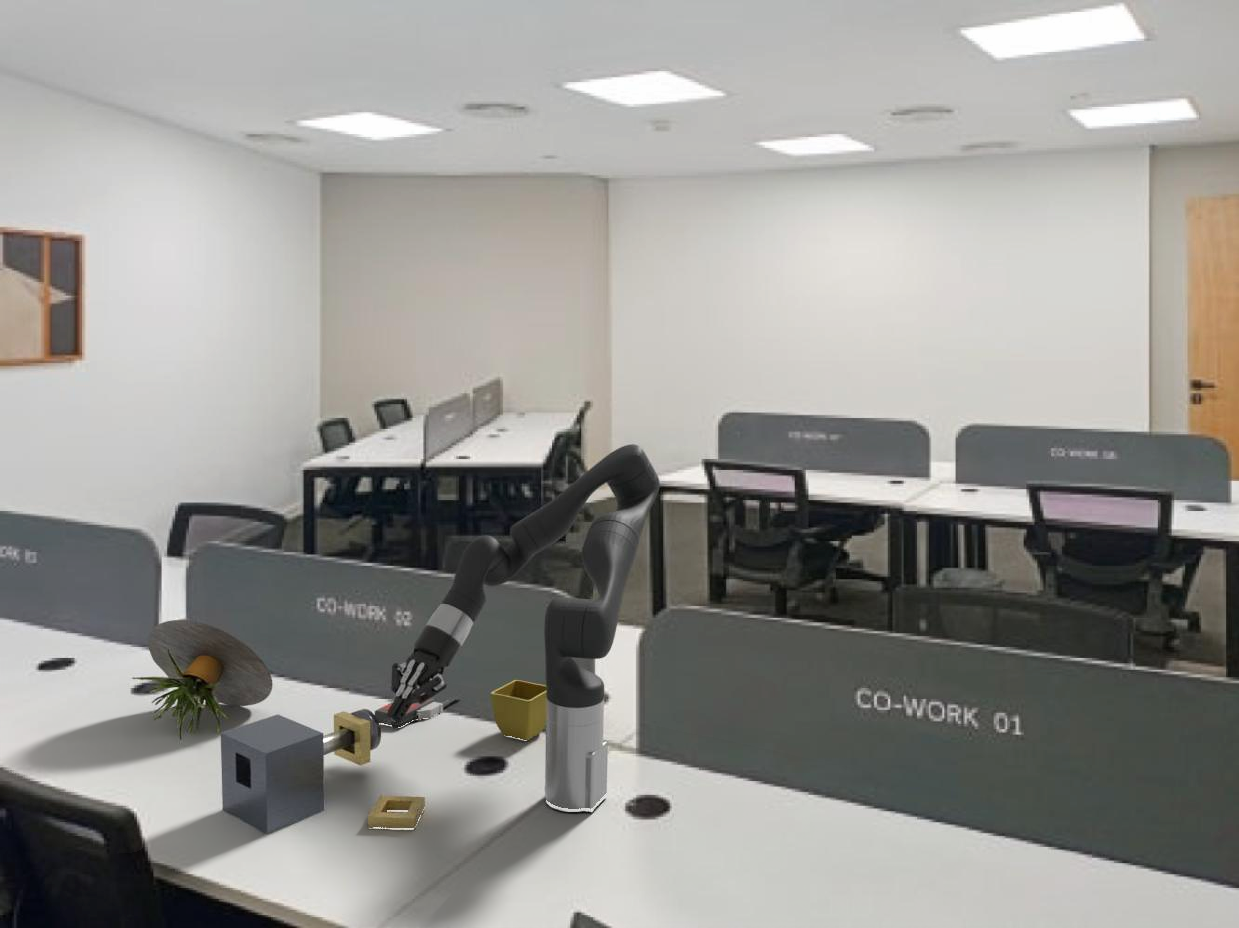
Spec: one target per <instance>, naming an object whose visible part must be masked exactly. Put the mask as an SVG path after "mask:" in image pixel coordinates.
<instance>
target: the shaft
mask: <svg viewBox="0 0 1239 928" xmlns="http://www.w3.org/2000/svg"><path fill="white" fill-rule="evenodd" d="M350 714H352V715H355V716H357V717H360V718H363V719H365V720H368V721H370V752H371V751H373V750H375V749H377V748H378V747H379V745H380V743H381V739H382V731H381V730H382V729H381V725H379V722H378V720H377V718H376V716H375V713H373V712H372V711H371V710H369V709H367V708H361V709H359V710H356V711H354V712H351V713H350ZM350 745H352V746H354V747H355V731H352V730H350V729H347V728H343V729H341V730H338V731H335V732H334V731H332V732H330V733H327V734H323V749H324V756H326V755H329V754H332V753H334V751H337V750H339V749H342V748H345V747H347V746H350Z"/></svg>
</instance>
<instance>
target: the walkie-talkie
mask: <svg viewBox="0 0 1239 928" xmlns="http://www.w3.org/2000/svg"><path fill="white" fill-rule="evenodd" d="M420 696H422V695H420ZM393 702H394V700H393V701H391V702H389V703H388V704H385V705H384V706H381V707H380V708H377V709H376V710H374V715H375V716H376V718H377V720H378V722H379V723H384V724H388V725H392V727H393V728H392V727H391V728H392V729H396V728H398V727H401V726H403V725H405V724H406V723H409V722H411V721H412V720H415V719H418V720H420V719H423V718H431V717H433V716H434V715H436V714H438V713H441V714H442V713H443V712H444V711H443V710H444V708H445V707H447V706H449V705H451V704H450V701H449V700H448V699H446V700H444V701H442V702H436V701H435V699H434V698H433V697H431V698H430V699H428V700H427V701H425V702H424V703H422V704H419V703H414V704H413V705H411V706H410V708H409V709H408V711H407V713H406V714H405V716H404V718H403V719H402V720H401V721H400V722H399V723H397V722H394V721H392V720H390V719H389V718H388V717H387V713H388V710H389V708H390V707H391V705H392V703H393ZM438 715H439V714H438ZM436 716H437V715H436ZM433 718H434V717H433ZM431 719H432V718H431ZM418 720H417V721H418ZM420 721H421V720H420ZM398 729H399V728H398Z"/></svg>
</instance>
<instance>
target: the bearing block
mask: <svg viewBox="0 0 1239 928" xmlns="http://www.w3.org/2000/svg"><path fill="white" fill-rule="evenodd" d="M323 736H324V732H321V731H319V730H316V729H314V728H312V727H309V726H306V725H305V724H302V723H299V722H298V721H295V720H292V719H290V718H288V717H285V716H282V715H280V714H275V715H271V716H268V717H266V718H265V717H264V718H263V719H260V720H256V721H253V722H250V723H246V724H244V725H240V726H237V727H234V728H231V729H228V730H225V731H222V732H220V755H221V757H220V759H221V761H220V763H221V765H220V766H221V797H222V810H223V811H224V812H225V813H228V814H229V815H231V816H233V817H235V818H236V819H239V820H240V821H242V822H244V823H246V824H247V825H249V826H252V827H253V828H256V829H257V830H258V831H261V832H263V833H265V835H269V834H271V833H274V832H277V831H279V830H281V829H283V828H286V827H288V826H290V825H293V824H295V823H298V822H299V821H302V820H305V819H306V818H308V817H312V816H314V815H316V814H318V813H321V812H324V811H325V763H324V758H325V755H324V749H323Z"/></svg>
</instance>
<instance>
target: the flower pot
mask: <svg viewBox="0 0 1239 928" xmlns="http://www.w3.org/2000/svg"><path fill="white" fill-rule="evenodd" d="M546 698H547V697H546V684H540V683H539V684H538V683H534V682H529V681H524V680H520V679H519V680H518V679H514V680H512V681H511V682H508V683H506V684H504V685H503V686H500V687H499V688H497V689H495V690H493V691H491V692H490V699H491V705H492V706H491V707H492V712H493V716H494V717H493V718H494V721H495V723H496V726H497V728H498V730H499V731H500V733H501V734H502V735H503V736H504V735H505V736H512V737H515V738H520V739H523V740H528V739H530V738H531V737H533V736H535V735H536V736H538V735H540V734H541V733H542V731H543V730H544V728H545V727H546ZM537 734H538V735H537ZM505 736H504V737H505ZM536 736H535V737H536ZM533 738H534V737H533ZM530 740H531V739H530Z"/></svg>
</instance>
